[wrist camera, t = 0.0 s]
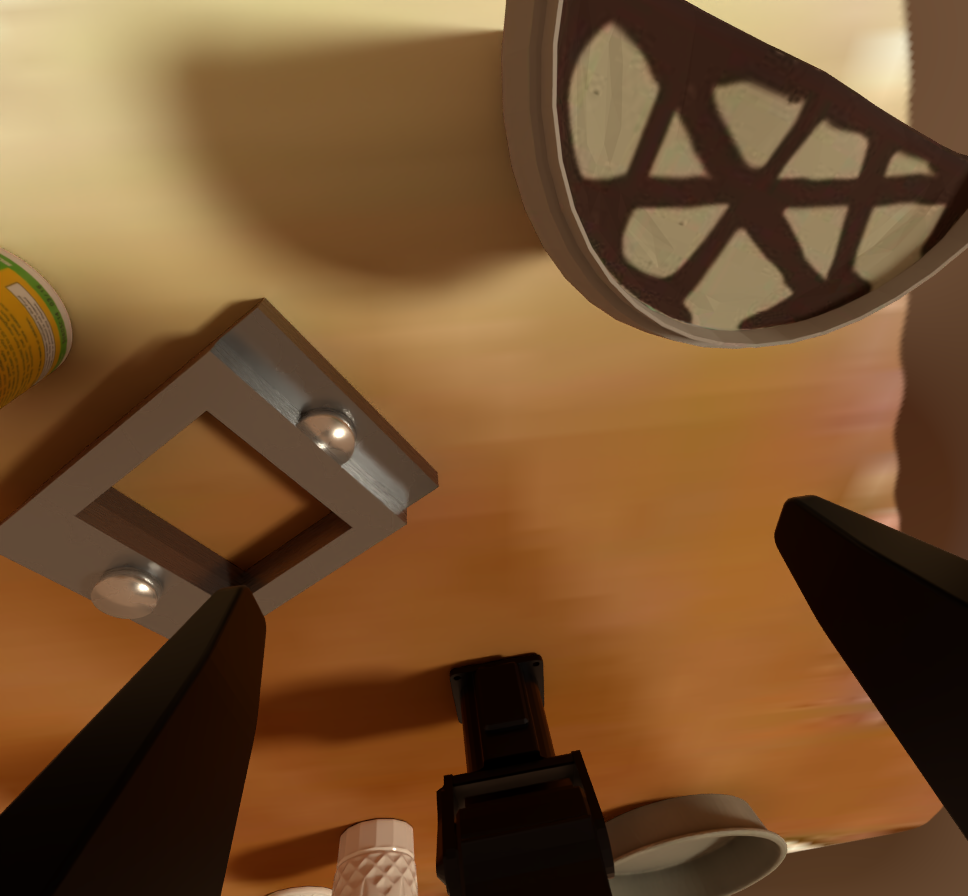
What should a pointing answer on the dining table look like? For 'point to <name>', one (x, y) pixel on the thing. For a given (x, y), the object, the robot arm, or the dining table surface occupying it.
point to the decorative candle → (303, 891)
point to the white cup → (376, 860)
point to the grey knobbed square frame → (263, 425)
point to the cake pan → (691, 847)
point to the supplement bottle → (28, 328)
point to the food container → (716, 175)
